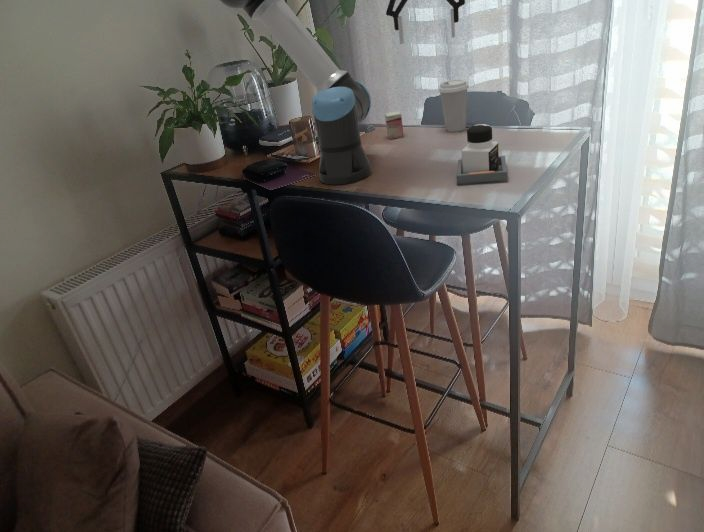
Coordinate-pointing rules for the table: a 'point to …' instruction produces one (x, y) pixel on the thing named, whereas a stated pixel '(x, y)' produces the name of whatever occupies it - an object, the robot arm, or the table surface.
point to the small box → (394, 125)
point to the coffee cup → (454, 104)
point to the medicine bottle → (480, 150)
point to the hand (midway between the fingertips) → (427, 40)
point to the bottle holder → (482, 174)
